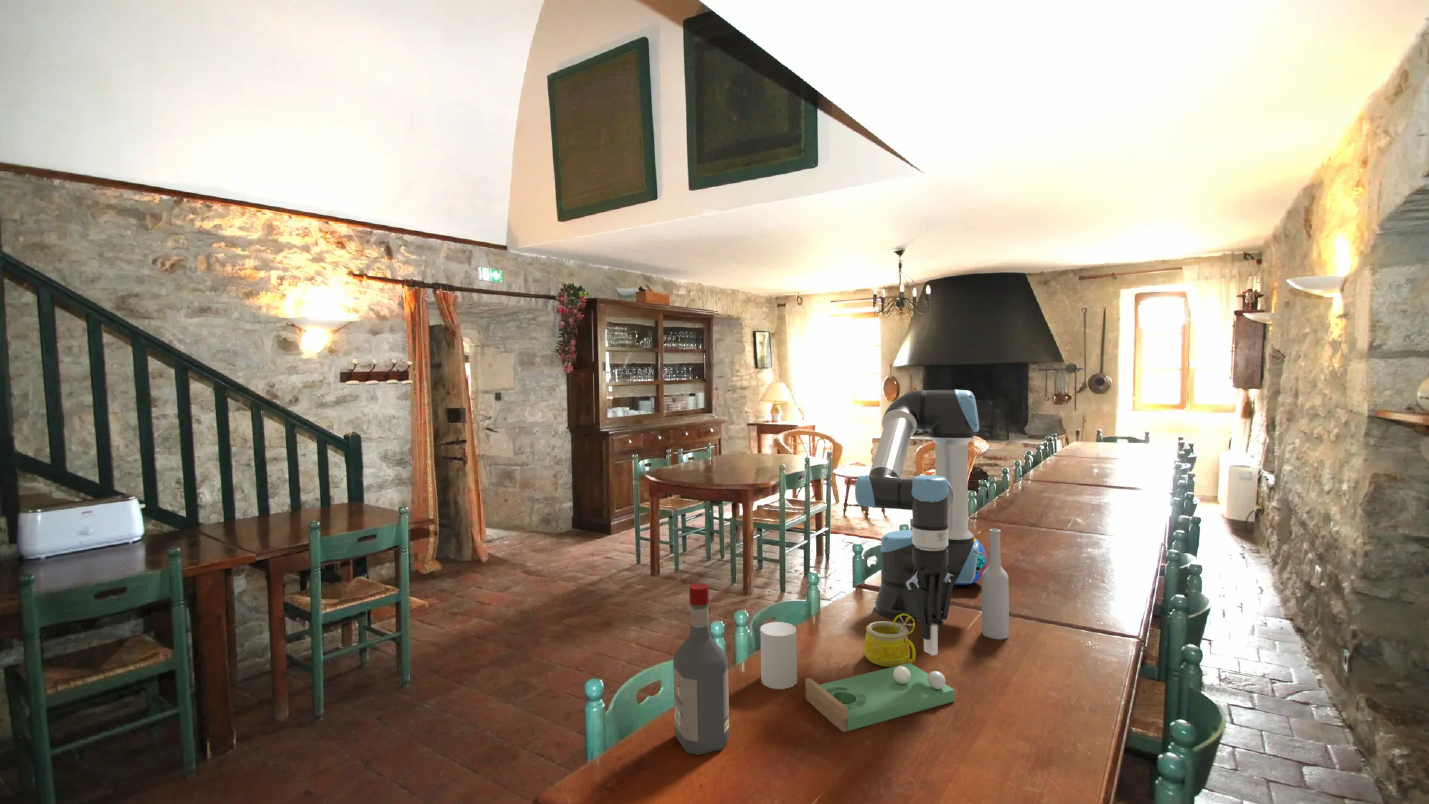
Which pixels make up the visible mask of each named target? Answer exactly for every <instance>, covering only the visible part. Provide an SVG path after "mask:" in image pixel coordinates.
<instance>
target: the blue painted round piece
mask: <svg viewBox="0 0 1429 804" xmlns="http://www.w3.org/2000/svg"><path fill="white" fill-rule="evenodd" d="M974 541H976V542H978V543H979V552H978V559H977V566H976V572H975V577H974V580H973V581H972V582H971V583H954V585H955V586H967V585H971V584H972V585H973V584H974V583H977V582H978V581H980V580H982V573H983V571H984V570H985V569H986V568H987V563H988V560H987V558H988V557H987V553H986V550H985V547H983V545H982V543H981V542H980V541H979V540H978V539H977V538H976V537H974ZM954 585H953V586H954Z"/></svg>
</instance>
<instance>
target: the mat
mask: <svg viewBox="0 0 1429 804" xmlns="http://www.w3.org/2000/svg"><path fill="white" fill-rule="evenodd" d="M899 666H904V667H906V668H907V669H908V670H909V671H910V674H911V678H910V680H909V682H908V683H906V684H900V683H898V682H897V681H896V680H895V679H894V675H893V673H894V670H895V668H896V667H898V666H895V667H886V668H884V669H879V670H875V671H871V672H867V673H862V674H858V675H854V676H850V677H846V678H841V679H837V680H833V681H829V682H825V683H821V684H819V683H818V682H817V681H815V680H813V679H812V677H809V678H805V686H804V687H805V700H806V699H807V700H806V701H807V702H808V703H809V702H810V703H809V704H810V705H811V704H812V707H813V708H815V709H816V710H817V711H818V712H819V713H820V714H822V716H823V717H825V718H826V719H827V720H829V722H830V723H832V724H833V725H834V726H836V728H837V729H838V730H840V731H841V732H842V733H847V732H850V731H853V730H857V729H860V728H863V727H867V726H871V725H875V724H878V723H882V722H886V721H889V720H892V719H896V718H900V717H903V716H907V715H910V714H914V713H917V712H921V711H922V712H923V711H924V710H928V709H931V708H932V709H933V708H935V707H940V706H942V705H945V704H950V703H952V702H955V689H954V688H953V687H951V686H949V685H948V684H946V683H945V685H944V687H943V688H942V689H934V688H932V687H931V686H930V685H929V683H928V675H929V674H930V673H927V672H926V671H925V670H922V669H921V668H919V666H918V667H917V666H916V665H914V664H913V663H912V662H911V663H906V664H903V665H899Z"/></svg>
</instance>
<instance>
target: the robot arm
mask: <svg viewBox="0 0 1429 804" xmlns="http://www.w3.org/2000/svg"><path fill="white" fill-rule="evenodd" d="M881 426H882V428H883V430H882V432H881V436H880V439H879V441H878V445H877V449H876V452H875V455H874V458H873V462H872V464H871V468H870V470H869V474H867V475H860V476H858V477H857V479H856V481H855V487H854V490H855V491H854V495H855V497H854V498H855V501H856V503H857V504H858V506H860V507H867V508H868V507H869V508H871V509H876V508H877V509H893V510H906V511H912V512H911V513H912V529H902V530H901V529H900V530H895V531H890V532H888V533H885V534H884V535H883V536H882V538H881V540H880V541H881V542H880V550H879V552H880V574H881V575H880V576H881V577H880V580H881V581H880V587H879V589H878V594H877V597H876V599H875V603H874V604H875V608H874V609H875V611H876V612H877V613H878V614H879V615H880V616H883V617H886V618H889V619H893V620H894V619H895V618H896V617H897V616H898V615H900V614H908V615H910V616H911V617H912V618H913V619H914V622H917V623H919V624H921V637H922V639H923V651H924V652H925V653H927V654H929V655H930V656H937V655H938V653H939V652H938V651H939V650H938V649H939V647H938V645H939V644H938V642H939V641H938V639H939V637H940V633H941V631H940V627H941V626H943V625H944V623H945V622H944V621H946V620H947V619H948V616H949V610H950V604H951V599H952V593H953V588H954V583H971V582H972V581H973V580H974V577H975V572H976V566H977V559H978V552H979V543H978V542H976V541H974V538H975V535H974V534H973V533H972V531H970V529H969V515H968V514H969V507H968V506H969V501H968V500H969V492H968V491H969V489H968V488H969V486H968V484H969V483H968V479H969V478H968V477H969V475H968V474H969V473H968V472H969V471H968V469H969V467H968V464H969V463H968V462H969V461H968V459H969V457H968V455H969V454H968V452H969V450H968V446H969V443H970V442H971V441H973V439H974V433H977V432H979V430H980V423H979V414H978V407H977V402H976V397H975V395H974V393H973V392H972V391H970V390H967V389H933V390H931V389H930V390H929V389H928V390H926V389H925V390H923V389H922V390H921V389H917V390H913V391H909V392H907V393H904V394H903V395H901V396H899V397H897V398H896V399H895V400H894V401H893V402H892V403H891V404H890V405H889V406H888V407H887V408H886V410H885V412H884V414H883V417H882V420H881ZM919 431H923V432H925V431H926V432H927V431H928V432H929V438H930V439H931V440H932V442H933V443H934V444H935V445H934V449H935V450H934V452H935V453H934V455H935V456H934V457H935V458H934V459H935V461H934V462H935V467H934V469H935V472H934V473H935V474H931V475H930V474H923V475H922V474H921V475H916V476H914V477H902V474H903V470H904V466H905V461H906V458H907V454H908V449H909V445H910V440H911V437H913V435H914V434H915V433H916V432H919ZM901 617H902V620H903V621H906V618H907V617H908V616H906V615H903V616H901ZM897 620H899V621H902V620H901V619H900V617H898V618H897V619H896V621H897ZM943 620H944V621H943ZM909 621H913V620H912V619H911V618H910V619H909Z"/></svg>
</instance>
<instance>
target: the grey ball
mask: <svg viewBox="0 0 1429 804" xmlns="http://www.w3.org/2000/svg"><path fill="white" fill-rule="evenodd" d="M928 674H929V675H928V683H929V685H930V686H931V687H932V688H934V689H942V688H943V687H944V685H945V684H946V677H945V676H944V674H943V673H942V672H940V671H937V670H933V671H931V672H930V673H928Z"/></svg>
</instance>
